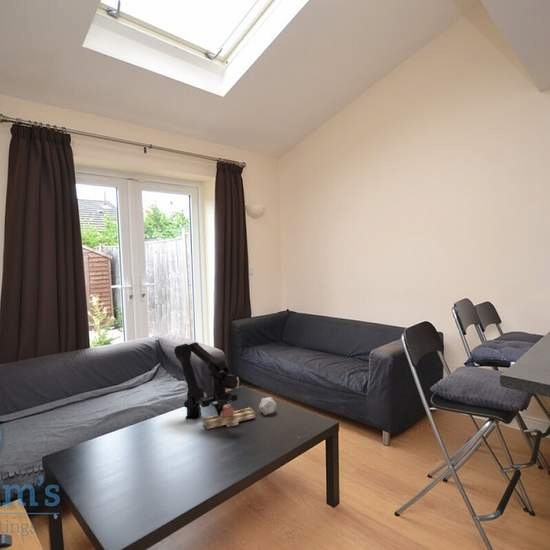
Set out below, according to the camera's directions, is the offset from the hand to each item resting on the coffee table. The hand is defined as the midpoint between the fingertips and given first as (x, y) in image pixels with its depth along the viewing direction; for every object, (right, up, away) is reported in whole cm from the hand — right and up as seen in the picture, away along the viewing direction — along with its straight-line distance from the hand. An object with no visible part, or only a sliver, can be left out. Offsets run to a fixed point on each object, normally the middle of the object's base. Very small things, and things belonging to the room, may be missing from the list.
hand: (218, 415), depth 184 cm
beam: (+5, -4, +3) cm, 7 cm away
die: (+25, -4, +13) cm, 28 cm away
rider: (+4, -2, +2) cm, 5 cm away
